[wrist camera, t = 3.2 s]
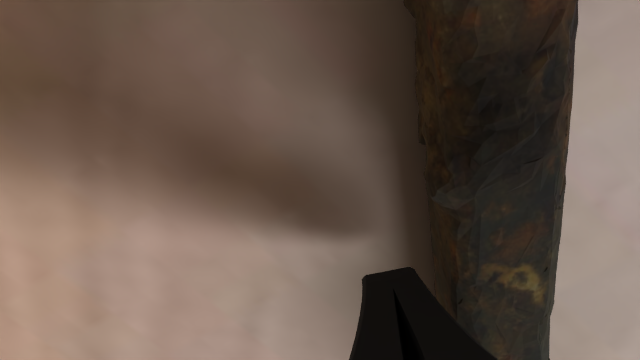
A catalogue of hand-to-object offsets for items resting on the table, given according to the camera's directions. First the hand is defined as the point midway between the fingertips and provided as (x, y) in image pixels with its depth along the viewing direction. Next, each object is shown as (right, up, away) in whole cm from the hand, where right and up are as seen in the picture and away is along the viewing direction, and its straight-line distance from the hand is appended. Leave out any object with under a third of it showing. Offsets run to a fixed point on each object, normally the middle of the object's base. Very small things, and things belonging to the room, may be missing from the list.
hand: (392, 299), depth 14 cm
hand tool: (+3, +2, +2) cm, 4 cm away
